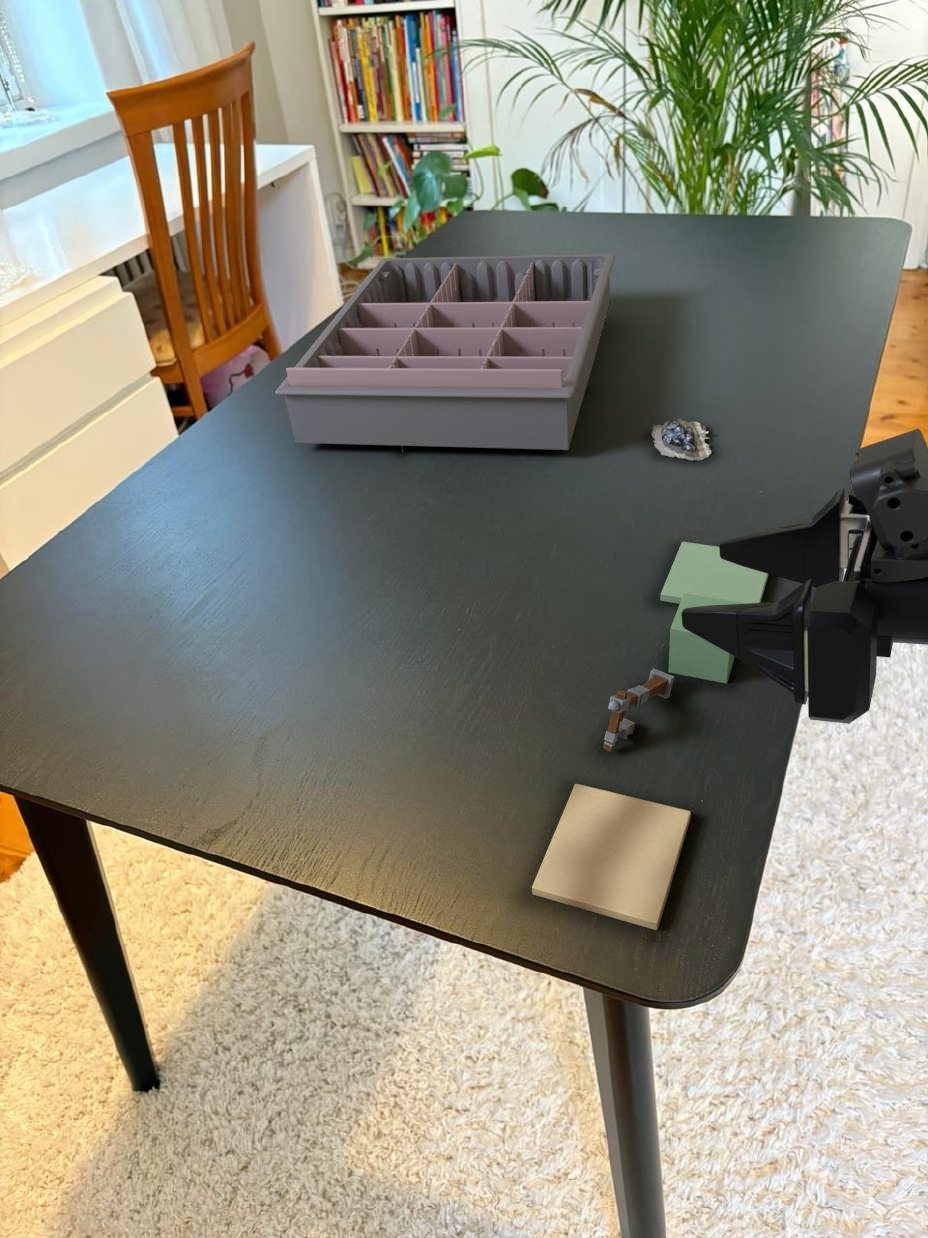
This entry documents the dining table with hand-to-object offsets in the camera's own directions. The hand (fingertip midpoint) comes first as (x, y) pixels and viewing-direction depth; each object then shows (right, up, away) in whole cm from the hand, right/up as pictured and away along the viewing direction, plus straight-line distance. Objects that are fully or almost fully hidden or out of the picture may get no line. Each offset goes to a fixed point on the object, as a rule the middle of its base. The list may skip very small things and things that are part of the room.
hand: (702, 581), depth 58 cm
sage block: (+5, -5, +19) cm, 20 cm away
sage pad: (+8, +1, +26) cm, 28 cm away
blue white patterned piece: (+9, +16, +45) cm, 49 cm away
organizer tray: (-14, +27, +62) cm, 69 cm away
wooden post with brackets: (-1, -10, +15) cm, 18 cm away
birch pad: (-4, -18, +5) cm, 19 cm away
